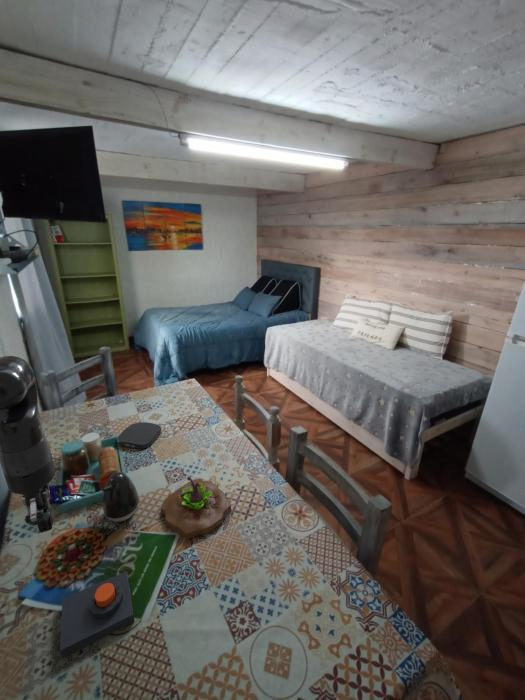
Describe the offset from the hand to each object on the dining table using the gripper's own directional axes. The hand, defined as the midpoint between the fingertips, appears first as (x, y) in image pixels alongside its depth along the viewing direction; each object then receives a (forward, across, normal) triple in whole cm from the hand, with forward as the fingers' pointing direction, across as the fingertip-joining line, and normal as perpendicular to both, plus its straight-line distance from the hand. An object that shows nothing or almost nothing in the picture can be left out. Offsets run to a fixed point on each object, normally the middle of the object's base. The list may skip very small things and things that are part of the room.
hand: (46, 528), depth 65 cm
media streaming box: (+25, -60, +25) cm, 70 cm away
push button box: (+25, +5, +6) cm, 26 cm away
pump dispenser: (+25, -22, +14) cm, 36 cm away
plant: (+25, -13, +35) cm, 45 cm away
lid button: (+21, +5, +8) cm, 23 cm away
